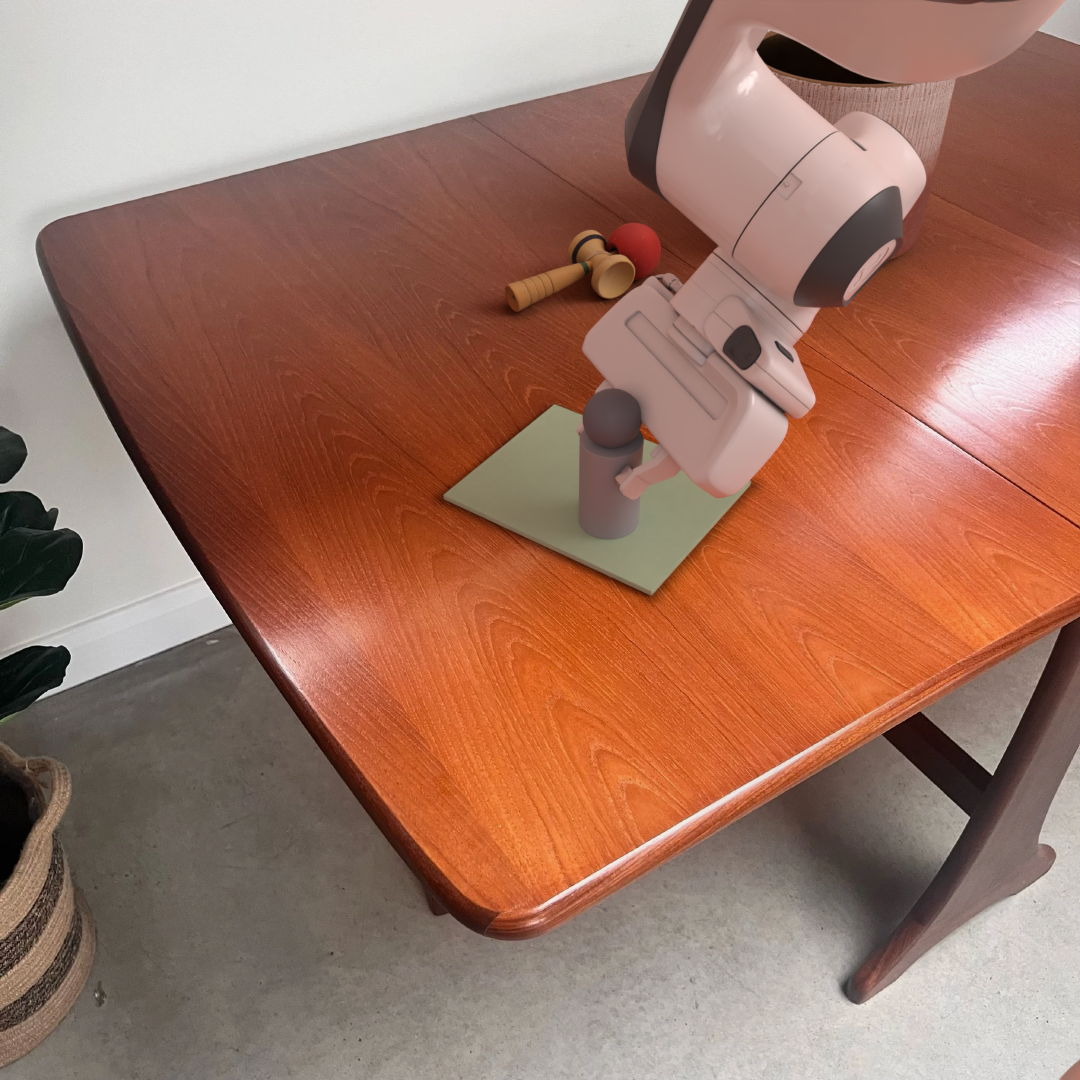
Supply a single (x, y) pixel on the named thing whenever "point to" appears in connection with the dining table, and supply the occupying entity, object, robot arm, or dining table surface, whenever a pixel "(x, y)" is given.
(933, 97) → the planter
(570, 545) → the mat
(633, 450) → the ball
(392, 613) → the dining table surface
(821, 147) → the robot arm
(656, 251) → the kendama
